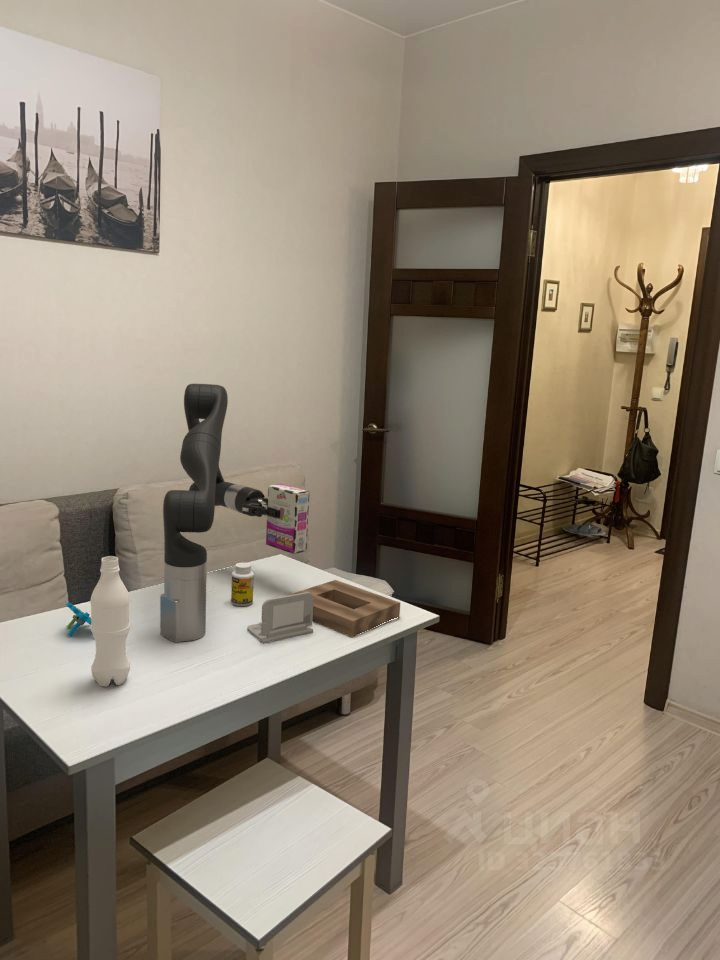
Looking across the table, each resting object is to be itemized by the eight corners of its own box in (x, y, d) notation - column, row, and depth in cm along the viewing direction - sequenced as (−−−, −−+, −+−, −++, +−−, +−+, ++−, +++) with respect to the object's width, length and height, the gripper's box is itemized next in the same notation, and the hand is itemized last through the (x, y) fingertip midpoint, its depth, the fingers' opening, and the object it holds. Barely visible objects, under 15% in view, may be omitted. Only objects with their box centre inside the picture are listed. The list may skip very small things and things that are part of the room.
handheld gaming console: (293, 619, 180) (295, 580, 178) (313, 633, 173) (315, 592, 171) (244, 629, 172) (246, 589, 170) (263, 644, 165) (264, 602, 163)
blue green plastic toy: (110, 631, 163) (75, 604, 158) (91, 653, 161) (55, 627, 156) (98, 620, 172) (65, 594, 168) (80, 641, 170) (46, 615, 166)
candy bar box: (307, 551, 194) (310, 490, 191) (294, 555, 190) (297, 493, 187) (278, 541, 201) (281, 482, 198) (264, 544, 197) (267, 484, 194)
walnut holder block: (352, 637, 171) (352, 621, 170) (286, 610, 185) (286, 595, 184) (399, 617, 185) (400, 602, 184) (334, 593, 198) (335, 579, 198)
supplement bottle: (227, 605, 186) (228, 566, 184) (236, 597, 191) (237, 560, 189) (247, 608, 185) (248, 569, 183) (256, 601, 190) (257, 563, 188)
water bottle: (93, 691, 139) (91, 565, 134) (90, 675, 146) (88, 554, 141) (132, 686, 142) (131, 562, 137) (128, 670, 149) (127, 551, 144)
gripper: (224, 490, 198) (267, 503, 188) (264, 483, 209) (306, 495, 198) (223, 516, 200) (266, 531, 189) (263, 509, 211) (305, 522, 200)
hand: (286, 512), depth 194 cm, fingers closed on candy bar box, 5 cm apart
